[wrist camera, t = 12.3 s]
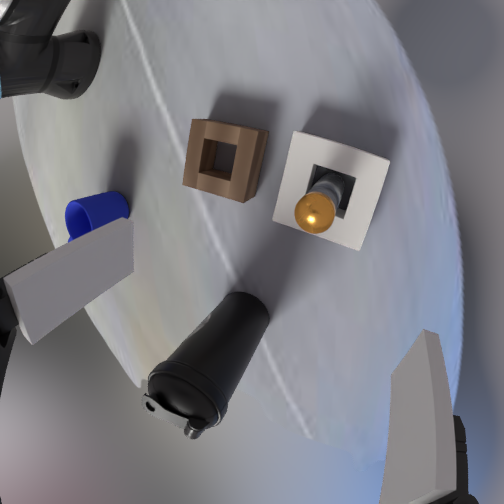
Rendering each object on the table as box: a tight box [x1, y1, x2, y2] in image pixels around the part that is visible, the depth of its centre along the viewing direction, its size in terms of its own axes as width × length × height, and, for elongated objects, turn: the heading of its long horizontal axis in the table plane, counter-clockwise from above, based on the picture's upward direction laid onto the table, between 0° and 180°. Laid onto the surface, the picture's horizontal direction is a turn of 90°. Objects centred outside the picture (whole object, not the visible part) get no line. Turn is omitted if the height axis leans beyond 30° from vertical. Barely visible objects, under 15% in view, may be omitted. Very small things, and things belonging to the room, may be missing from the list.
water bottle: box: [142, 292, 269, 439], centre depth 37 cm, size 10×10×23 cm
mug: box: [65, 191, 129, 242], centre depth 45 cm, size 8×12×10 cm
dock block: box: [272, 131, 390, 251], centre depth 32 cm, size 11×11×4 cm
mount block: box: [182, 119, 269, 203], centre depth 36 cm, size 9×9×4 cm
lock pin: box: [294, 173, 344, 234], centre depth 28 cm, size 3×3×14 cm
